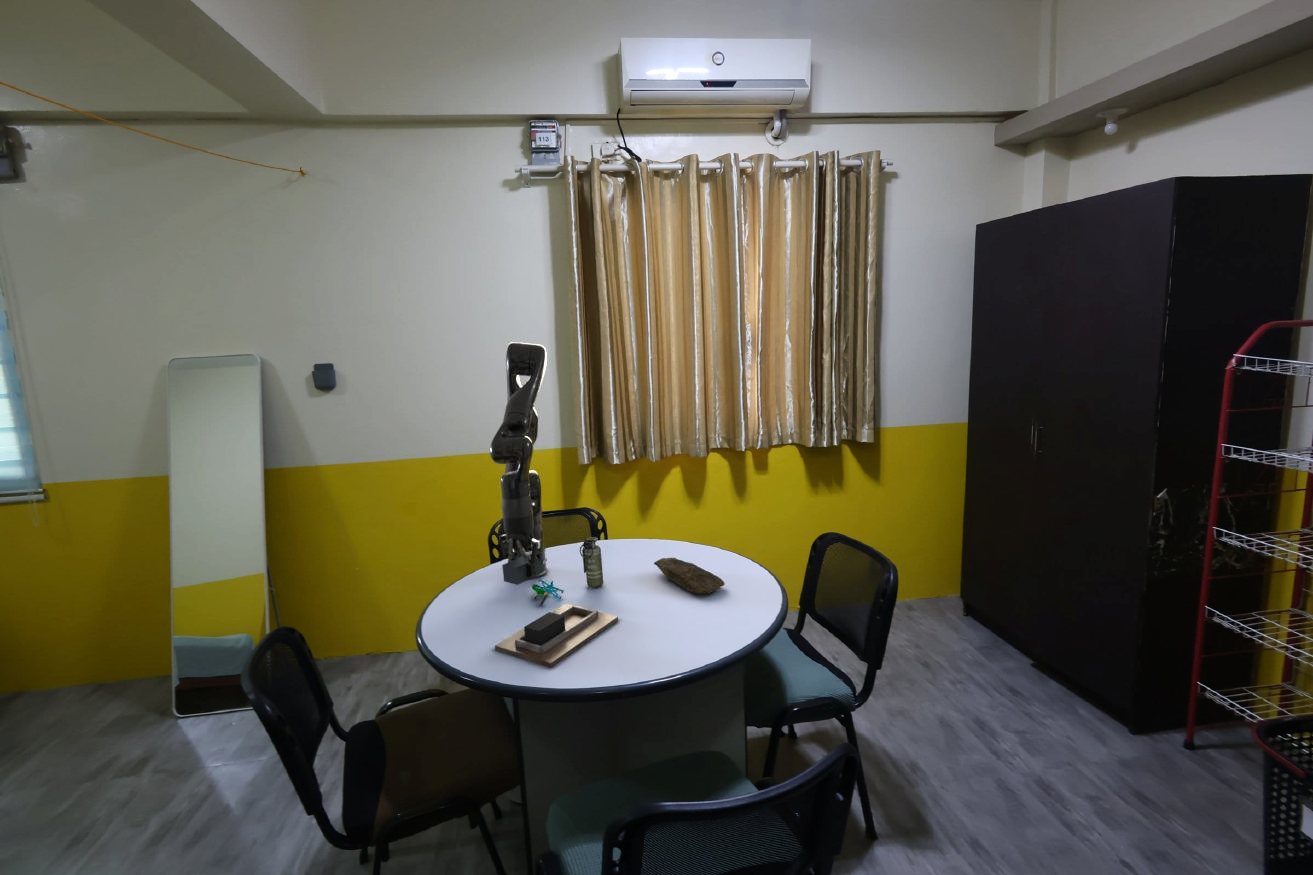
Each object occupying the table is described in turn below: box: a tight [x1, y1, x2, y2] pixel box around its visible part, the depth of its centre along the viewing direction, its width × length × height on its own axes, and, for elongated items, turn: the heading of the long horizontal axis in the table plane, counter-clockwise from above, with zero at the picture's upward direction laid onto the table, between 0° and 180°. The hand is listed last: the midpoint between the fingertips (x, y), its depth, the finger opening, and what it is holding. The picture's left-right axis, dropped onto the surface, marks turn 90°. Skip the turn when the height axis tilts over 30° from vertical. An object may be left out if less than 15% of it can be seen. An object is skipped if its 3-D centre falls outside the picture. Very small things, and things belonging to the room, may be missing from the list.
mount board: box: [494, 603, 619, 669], centre depth 154 cm, size 18×26×3 cm
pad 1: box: [501, 555, 542, 586], centre depth 160 cm, size 5×9×4 cm, turn 147°
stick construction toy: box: [531, 578, 565, 607], centre depth 175 cm, size 12×7×8 cm
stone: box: [653, 557, 726, 594], centre depth 183 cm, size 11×27×6 cm, turn 34°
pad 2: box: [523, 611, 565, 646], centre depth 150 cm, size 5×9×4 cm, turn 148°
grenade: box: [579, 536, 604, 589], centre depth 182 cm, size 6×6×15 cm
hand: (523, 575), depth 160 cm, fingers closed on pad 1, 5 cm apart
